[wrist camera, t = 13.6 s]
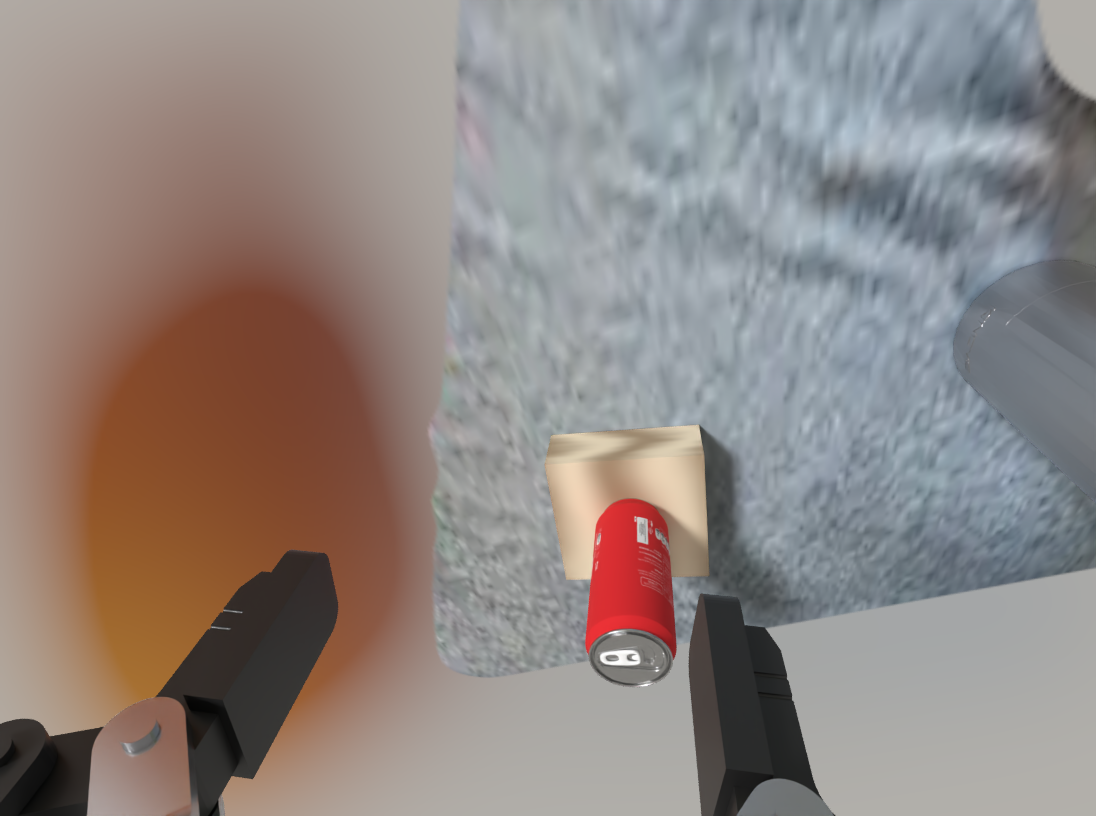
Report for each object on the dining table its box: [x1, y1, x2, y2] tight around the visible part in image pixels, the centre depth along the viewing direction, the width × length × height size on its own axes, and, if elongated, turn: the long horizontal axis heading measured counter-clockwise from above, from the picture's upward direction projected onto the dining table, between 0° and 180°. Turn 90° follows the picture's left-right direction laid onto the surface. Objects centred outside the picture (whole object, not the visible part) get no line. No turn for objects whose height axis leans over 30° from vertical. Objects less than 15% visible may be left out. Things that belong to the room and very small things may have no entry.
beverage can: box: [585, 498, 676, 687], centre depth 39 cm, size 5×5×12 cm
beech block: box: [545, 425, 709, 580], centre depth 46 cm, size 11×11×4 cm
